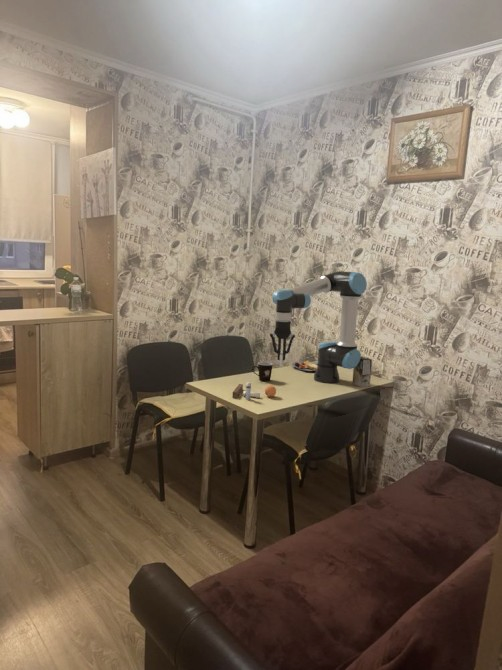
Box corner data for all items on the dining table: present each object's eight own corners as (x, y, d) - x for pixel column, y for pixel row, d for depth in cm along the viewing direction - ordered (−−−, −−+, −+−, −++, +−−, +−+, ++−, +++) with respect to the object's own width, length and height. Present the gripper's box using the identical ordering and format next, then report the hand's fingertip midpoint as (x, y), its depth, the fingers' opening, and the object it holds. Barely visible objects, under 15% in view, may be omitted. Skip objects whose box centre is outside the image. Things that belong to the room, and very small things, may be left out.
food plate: (284, 366, 309) (285, 361, 308) (309, 362, 323) (310, 357, 322) (311, 375, 289) (311, 370, 289) (336, 371, 304) (337, 366, 303)
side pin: (250, 398, 235) (251, 382, 234) (249, 400, 233) (250, 383, 231) (246, 398, 235) (246, 382, 234) (245, 399, 233) (245, 383, 232)
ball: (267, 382, 243) (263, 393, 243) (266, 384, 237) (262, 395, 237) (278, 386, 242) (274, 397, 242) (277, 388, 236) (273, 399, 236)
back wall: (242, 389, 251) (242, 384, 250) (236, 398, 235) (236, 392, 235) (239, 389, 251) (239, 384, 250) (232, 397, 235) (232, 392, 235)
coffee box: (370, 386, 267) (372, 359, 264) (361, 387, 264) (363, 359, 262) (360, 382, 275) (362, 355, 272) (351, 383, 272) (353, 356, 270)
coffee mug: (272, 378, 275) (273, 362, 274) (271, 382, 267) (272, 365, 265) (252, 377, 276) (253, 361, 275) (251, 381, 268) (252, 364, 266)
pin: (258, 398, 236) (242, 396, 239) (259, 396, 238) (244, 394, 241) (258, 394, 235) (242, 392, 238) (260, 392, 238) (244, 390, 240)
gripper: (296, 320, 235) (294, 365, 239) (271, 318, 237) (269, 363, 241) (295, 322, 228) (293, 369, 232) (269, 320, 230) (267, 367, 234)
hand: (280, 366), depth 236 cm, fingers closed
